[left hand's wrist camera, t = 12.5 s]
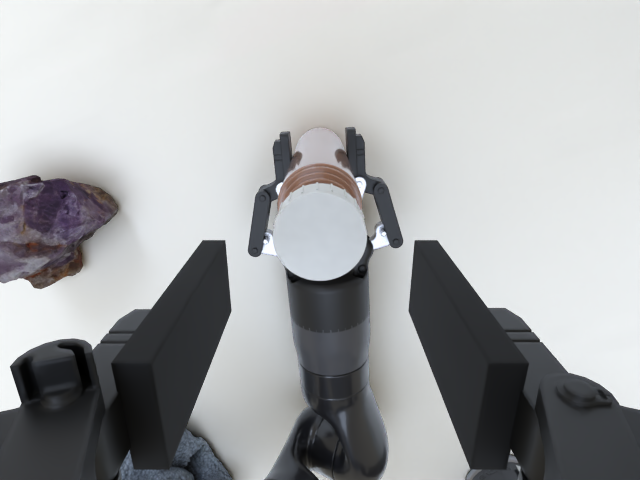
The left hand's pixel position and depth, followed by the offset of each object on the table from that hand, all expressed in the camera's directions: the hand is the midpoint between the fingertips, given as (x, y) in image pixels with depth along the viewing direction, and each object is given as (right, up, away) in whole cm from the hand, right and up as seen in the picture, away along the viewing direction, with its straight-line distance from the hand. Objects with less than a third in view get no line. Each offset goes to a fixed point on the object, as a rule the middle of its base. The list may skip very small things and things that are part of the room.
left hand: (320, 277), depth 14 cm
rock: (-26, +4, +29) cm, 39 cm away
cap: (0, +1, +4) cm, 4 cm away
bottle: (0, +10, +26) cm, 28 cm away
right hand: (0, +10, +19) cm, 22 cm away
